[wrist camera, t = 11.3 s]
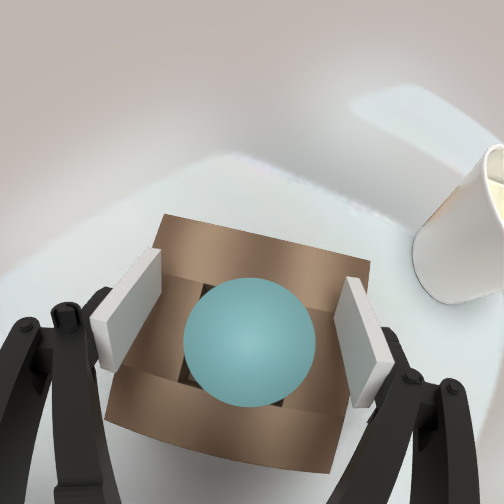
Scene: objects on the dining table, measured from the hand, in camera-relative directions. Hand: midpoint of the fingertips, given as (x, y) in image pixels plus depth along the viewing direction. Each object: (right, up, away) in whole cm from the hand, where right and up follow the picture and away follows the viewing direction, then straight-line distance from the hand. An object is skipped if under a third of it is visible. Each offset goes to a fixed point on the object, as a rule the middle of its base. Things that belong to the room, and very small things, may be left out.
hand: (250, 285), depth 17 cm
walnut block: (-1, -5, +6) cm, 8 cm away
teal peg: (-1, -5, +5) cm, 7 cm away
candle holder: (+18, +1, +9) cm, 20 cm away
